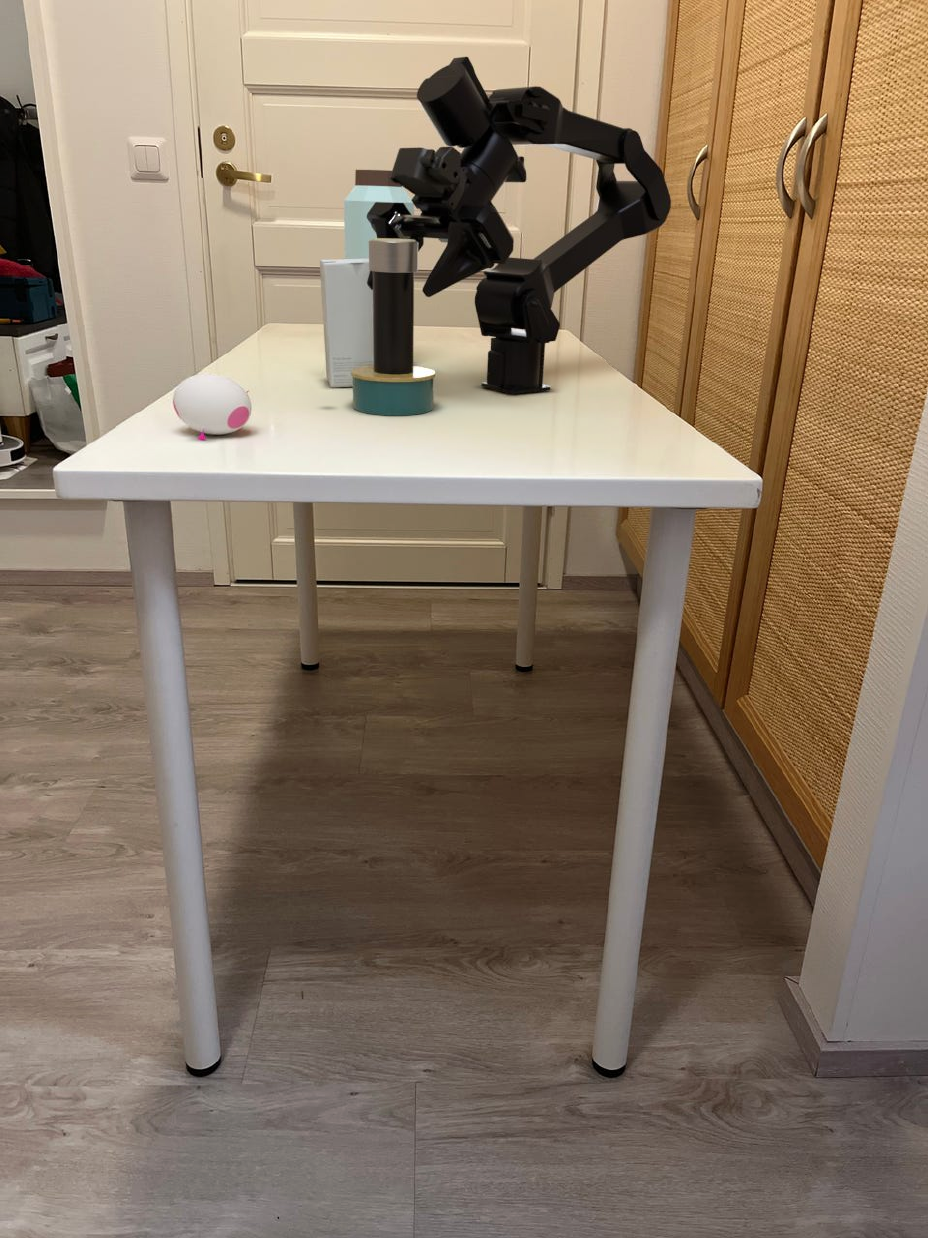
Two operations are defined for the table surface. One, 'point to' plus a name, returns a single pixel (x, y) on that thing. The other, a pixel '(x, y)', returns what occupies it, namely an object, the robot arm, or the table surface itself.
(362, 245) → the water bottle
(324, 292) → the cosmetic box
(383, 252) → the torch
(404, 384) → the tin
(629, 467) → the table surface
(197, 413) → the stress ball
